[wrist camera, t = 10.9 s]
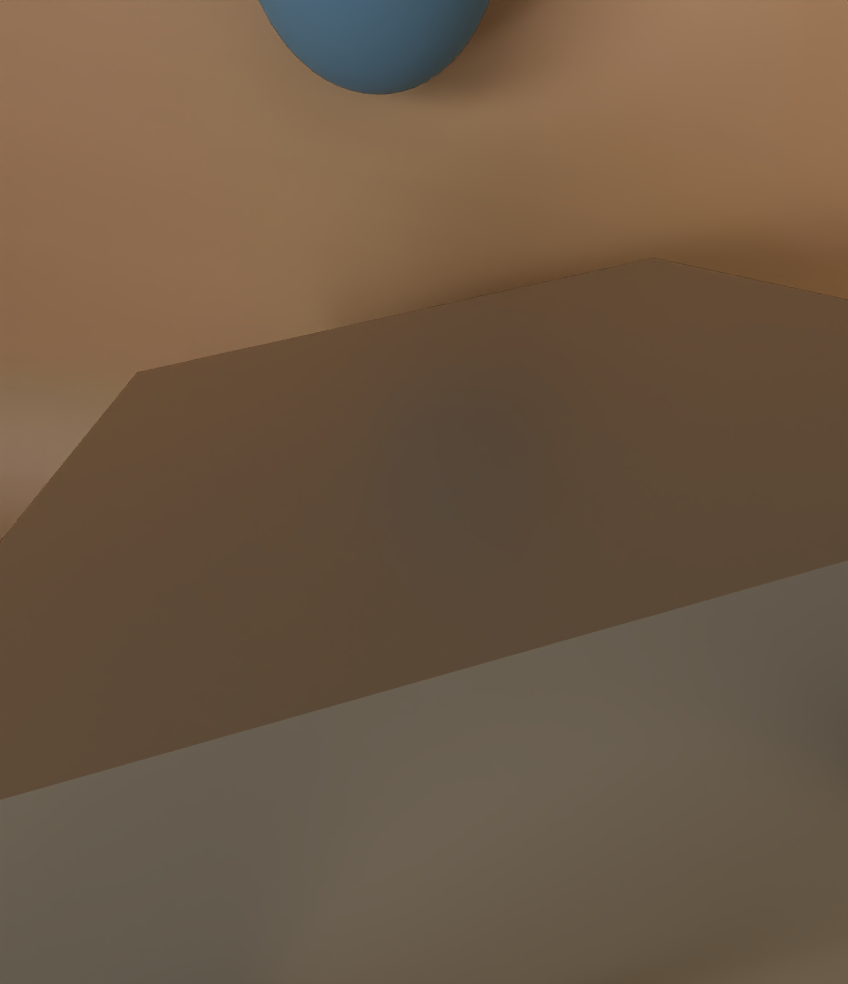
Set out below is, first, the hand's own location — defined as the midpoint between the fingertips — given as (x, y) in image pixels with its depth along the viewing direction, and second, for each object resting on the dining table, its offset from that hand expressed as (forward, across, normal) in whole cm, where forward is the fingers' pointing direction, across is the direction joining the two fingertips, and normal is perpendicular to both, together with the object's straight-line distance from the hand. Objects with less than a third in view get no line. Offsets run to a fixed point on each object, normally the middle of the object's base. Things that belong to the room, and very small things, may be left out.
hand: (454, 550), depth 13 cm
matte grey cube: (+1, 0, 0) cm, 1 cm away
